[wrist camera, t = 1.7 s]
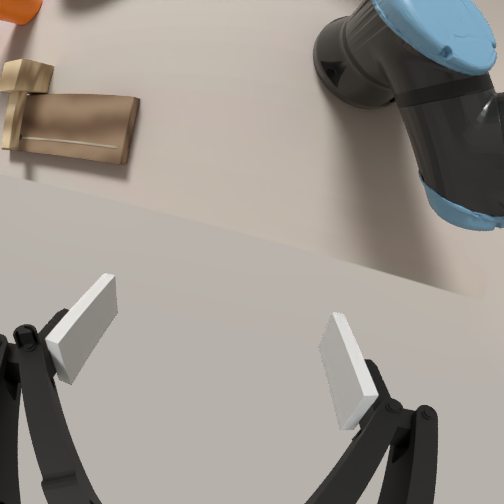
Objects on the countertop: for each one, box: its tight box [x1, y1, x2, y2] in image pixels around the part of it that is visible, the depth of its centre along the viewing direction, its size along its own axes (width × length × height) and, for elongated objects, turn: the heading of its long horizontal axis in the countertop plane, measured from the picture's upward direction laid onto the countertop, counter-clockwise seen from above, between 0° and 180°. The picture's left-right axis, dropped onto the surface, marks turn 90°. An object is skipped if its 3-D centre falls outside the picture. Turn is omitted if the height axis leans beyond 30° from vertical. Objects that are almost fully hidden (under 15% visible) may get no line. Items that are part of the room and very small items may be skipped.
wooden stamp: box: [0, 59, 54, 148], centre depth 29 cm, size 14×5×9 cm, turn 166°
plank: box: [2, 94, 140, 165], centre depth 34 cm, size 10×28×2 cm, turn 76°
